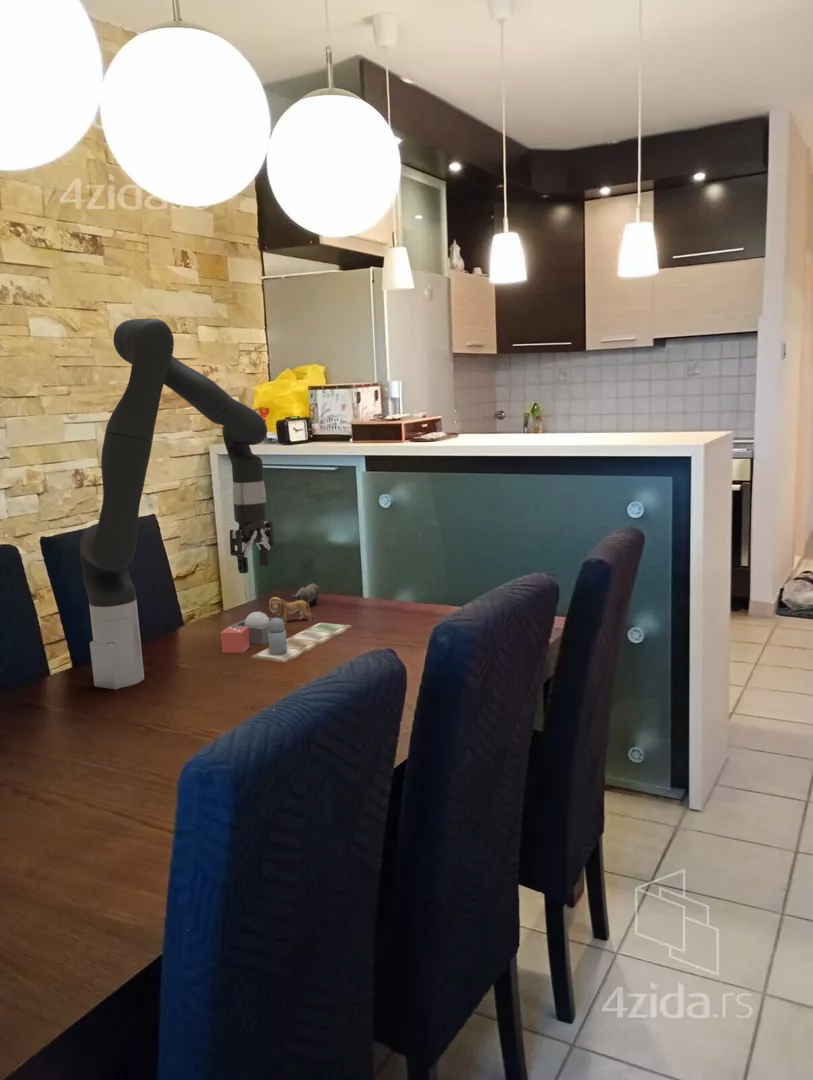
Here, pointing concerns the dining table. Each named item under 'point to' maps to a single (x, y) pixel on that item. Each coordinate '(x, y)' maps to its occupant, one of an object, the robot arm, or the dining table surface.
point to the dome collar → (256, 632)
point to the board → (304, 641)
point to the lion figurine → (289, 608)
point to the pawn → (277, 637)
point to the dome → (257, 620)
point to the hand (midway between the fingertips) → (254, 569)
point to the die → (235, 640)
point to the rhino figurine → (308, 594)
